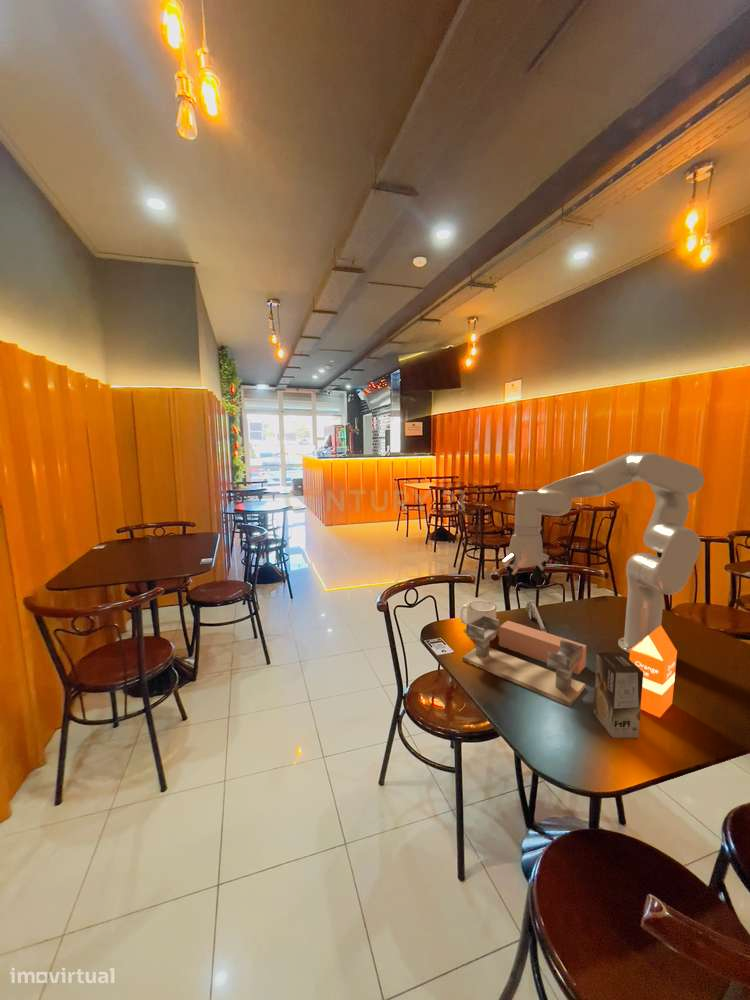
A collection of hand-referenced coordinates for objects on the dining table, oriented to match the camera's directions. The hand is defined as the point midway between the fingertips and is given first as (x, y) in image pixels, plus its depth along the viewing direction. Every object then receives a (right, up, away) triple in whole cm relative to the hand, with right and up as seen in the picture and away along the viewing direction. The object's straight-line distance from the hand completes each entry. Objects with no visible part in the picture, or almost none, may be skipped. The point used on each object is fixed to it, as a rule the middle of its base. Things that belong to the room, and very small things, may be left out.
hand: (524, 583), depth 127 cm
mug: (-11, -21, +16) cm, 29 cm away
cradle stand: (-5, -24, -9) cm, 27 cm away
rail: (+5, -23, +1) cm, 24 cm away
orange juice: (+23, -26, -23) cm, 42 cm away
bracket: (+12, -21, +19) cm, 30 cm away
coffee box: (+10, -27, -31) cm, 43 cm away
